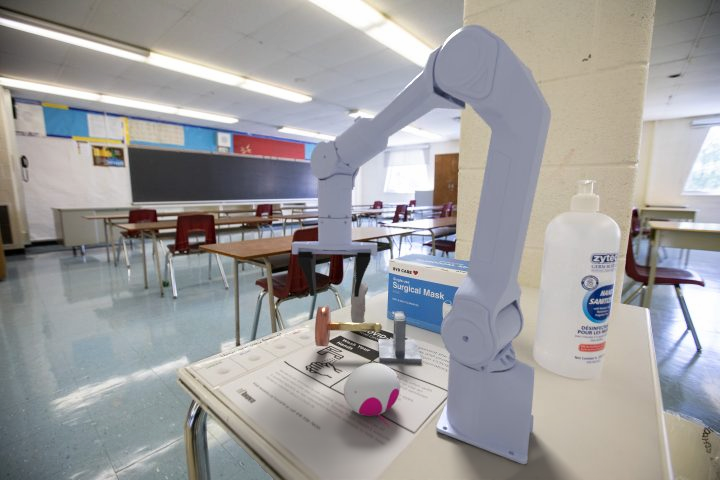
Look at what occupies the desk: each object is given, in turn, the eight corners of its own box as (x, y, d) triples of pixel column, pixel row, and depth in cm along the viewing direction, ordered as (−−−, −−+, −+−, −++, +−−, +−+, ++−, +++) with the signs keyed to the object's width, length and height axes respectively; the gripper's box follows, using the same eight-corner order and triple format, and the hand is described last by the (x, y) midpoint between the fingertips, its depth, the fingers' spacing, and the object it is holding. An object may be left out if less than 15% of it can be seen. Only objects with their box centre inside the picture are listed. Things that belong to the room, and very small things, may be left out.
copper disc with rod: (380, 337, 58) (381, 302, 57) (382, 355, 51) (383, 316, 50) (321, 335, 58) (321, 301, 57) (315, 353, 52) (314, 314, 51)
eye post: (415, 343, 58) (416, 309, 57) (421, 363, 51) (423, 324, 50) (378, 343, 58) (379, 308, 57) (379, 362, 51) (380, 323, 51)
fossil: (363, 332, 63) (364, 284, 62) (347, 330, 64) (347, 283, 62) (368, 321, 69) (369, 277, 67) (353, 319, 69) (353, 276, 68)
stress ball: (353, 451, 37) (367, 432, 33) (331, 387, 42) (341, 363, 38) (404, 428, 41) (423, 408, 36) (378, 372, 46) (392, 348, 42)
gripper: (376, 216, 56) (375, 288, 58) (297, 215, 56) (298, 287, 58) (378, 219, 49) (376, 301, 51) (288, 217, 49) (289, 299, 51)
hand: (334, 294), depth 54 cm, fingers open, 7 cm apart
